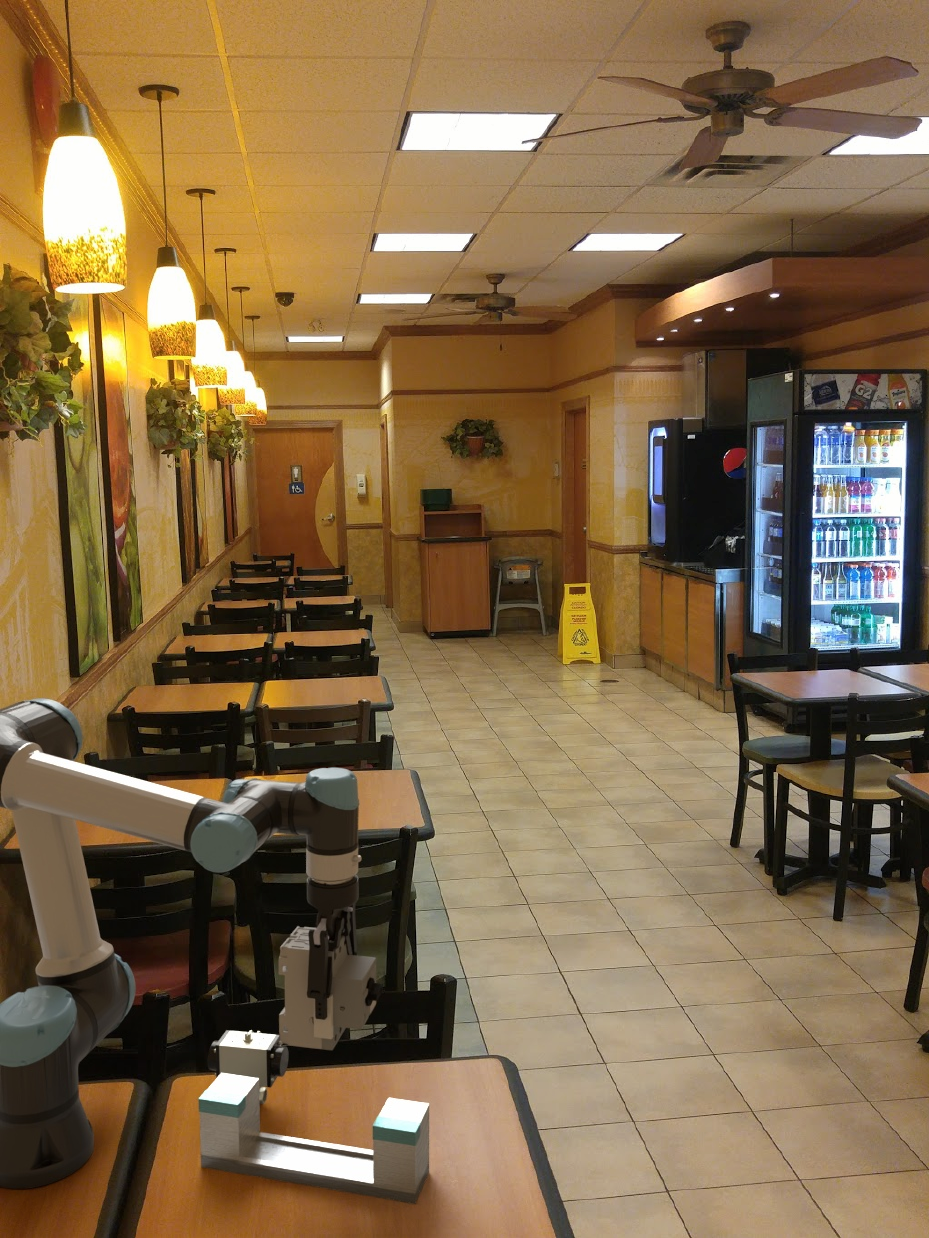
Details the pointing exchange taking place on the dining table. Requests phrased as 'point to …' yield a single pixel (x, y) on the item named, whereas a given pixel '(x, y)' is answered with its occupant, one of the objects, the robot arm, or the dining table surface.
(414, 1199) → the rail with modules
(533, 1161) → the dining table surface
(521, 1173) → the dining table surface
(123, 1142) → the dining table surface
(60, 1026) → the robot arm
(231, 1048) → the pneumatic valve
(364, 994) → the circuit breaker
